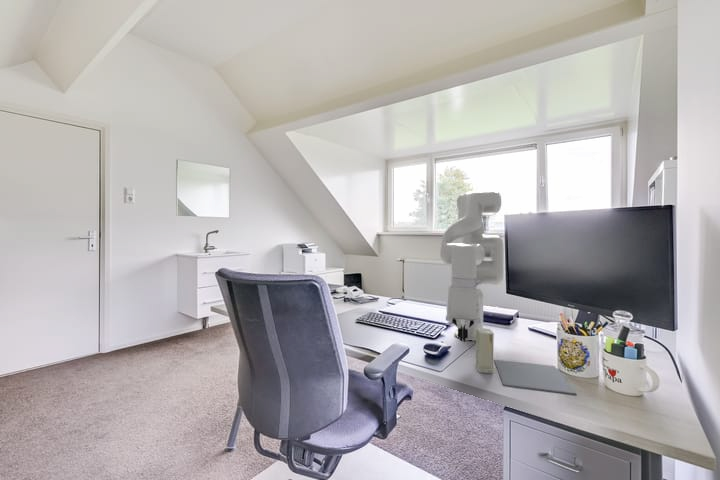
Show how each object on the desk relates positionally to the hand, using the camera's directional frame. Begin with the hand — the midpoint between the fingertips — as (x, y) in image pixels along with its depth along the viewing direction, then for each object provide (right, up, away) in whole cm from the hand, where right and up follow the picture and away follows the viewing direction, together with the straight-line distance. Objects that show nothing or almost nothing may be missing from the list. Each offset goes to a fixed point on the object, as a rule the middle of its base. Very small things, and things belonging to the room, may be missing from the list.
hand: (462, 340), depth 102 cm
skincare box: (+6, -9, -2) cm, 11 cm away
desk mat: (+19, -9, -6) cm, 21 cm away
